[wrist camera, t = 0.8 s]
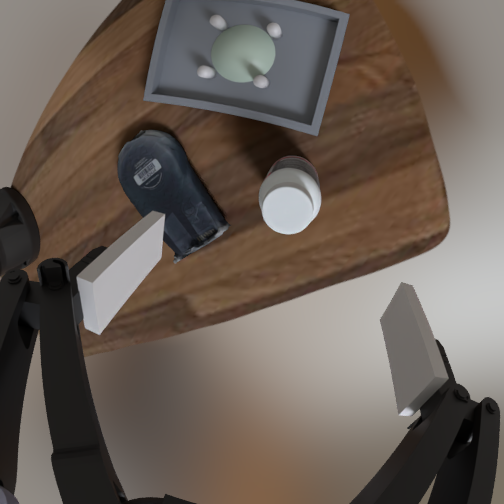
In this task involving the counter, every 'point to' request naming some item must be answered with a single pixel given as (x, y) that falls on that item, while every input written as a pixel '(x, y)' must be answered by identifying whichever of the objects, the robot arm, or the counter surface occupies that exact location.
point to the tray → (248, 59)
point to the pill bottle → (290, 195)
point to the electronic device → (169, 191)
